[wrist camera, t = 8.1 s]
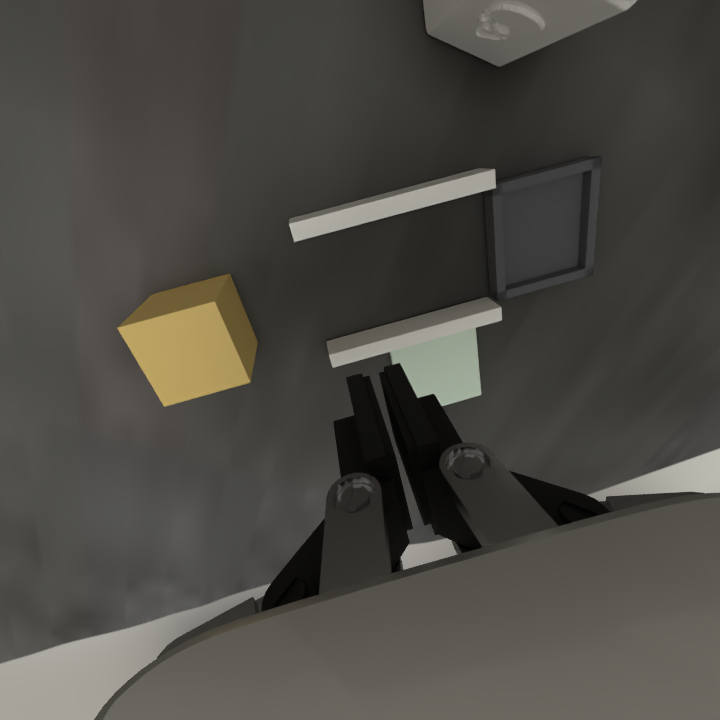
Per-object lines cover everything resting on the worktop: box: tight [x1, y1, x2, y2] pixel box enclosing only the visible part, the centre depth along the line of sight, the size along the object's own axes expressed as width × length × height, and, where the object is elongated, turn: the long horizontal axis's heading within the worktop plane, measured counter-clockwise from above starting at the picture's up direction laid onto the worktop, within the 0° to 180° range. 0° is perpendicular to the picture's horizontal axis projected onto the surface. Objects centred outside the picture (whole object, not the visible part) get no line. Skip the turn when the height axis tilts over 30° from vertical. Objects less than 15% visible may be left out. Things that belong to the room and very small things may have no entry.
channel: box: [289, 168, 502, 368], centre depth 25 cm, size 12×10×2 cm
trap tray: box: [484, 156, 602, 301], centre depth 25 cm, size 7×8×1 cm
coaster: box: [389, 328, 481, 406], centre depth 29 cm, size 6×6×1 cm
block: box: [118, 273, 258, 407], centre depth 23 cm, size 5×5×6 cm
